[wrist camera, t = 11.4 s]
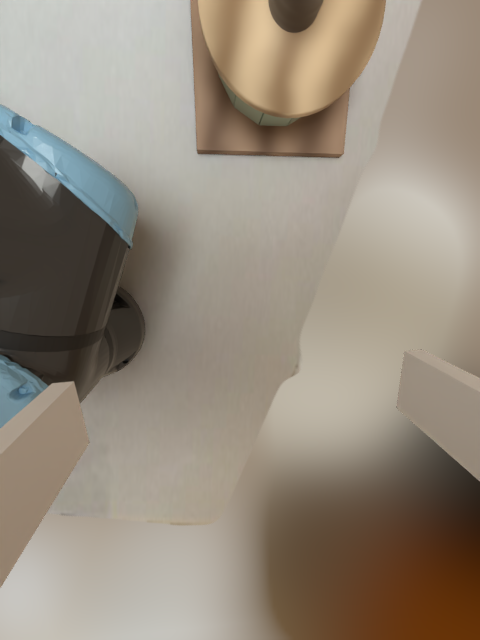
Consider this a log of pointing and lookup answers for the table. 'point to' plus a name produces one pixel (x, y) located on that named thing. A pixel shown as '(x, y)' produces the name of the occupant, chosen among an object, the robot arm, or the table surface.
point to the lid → (290, 49)
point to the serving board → (244, 134)
